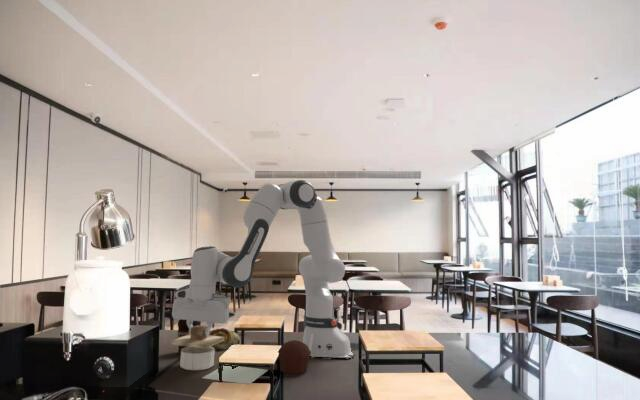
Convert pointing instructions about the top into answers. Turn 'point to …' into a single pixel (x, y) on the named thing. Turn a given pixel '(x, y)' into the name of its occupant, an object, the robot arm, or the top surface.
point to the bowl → (197, 358)
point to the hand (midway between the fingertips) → (199, 334)
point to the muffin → (294, 357)
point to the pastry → (229, 338)
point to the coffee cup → (184, 330)
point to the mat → (237, 374)
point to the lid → (197, 339)
